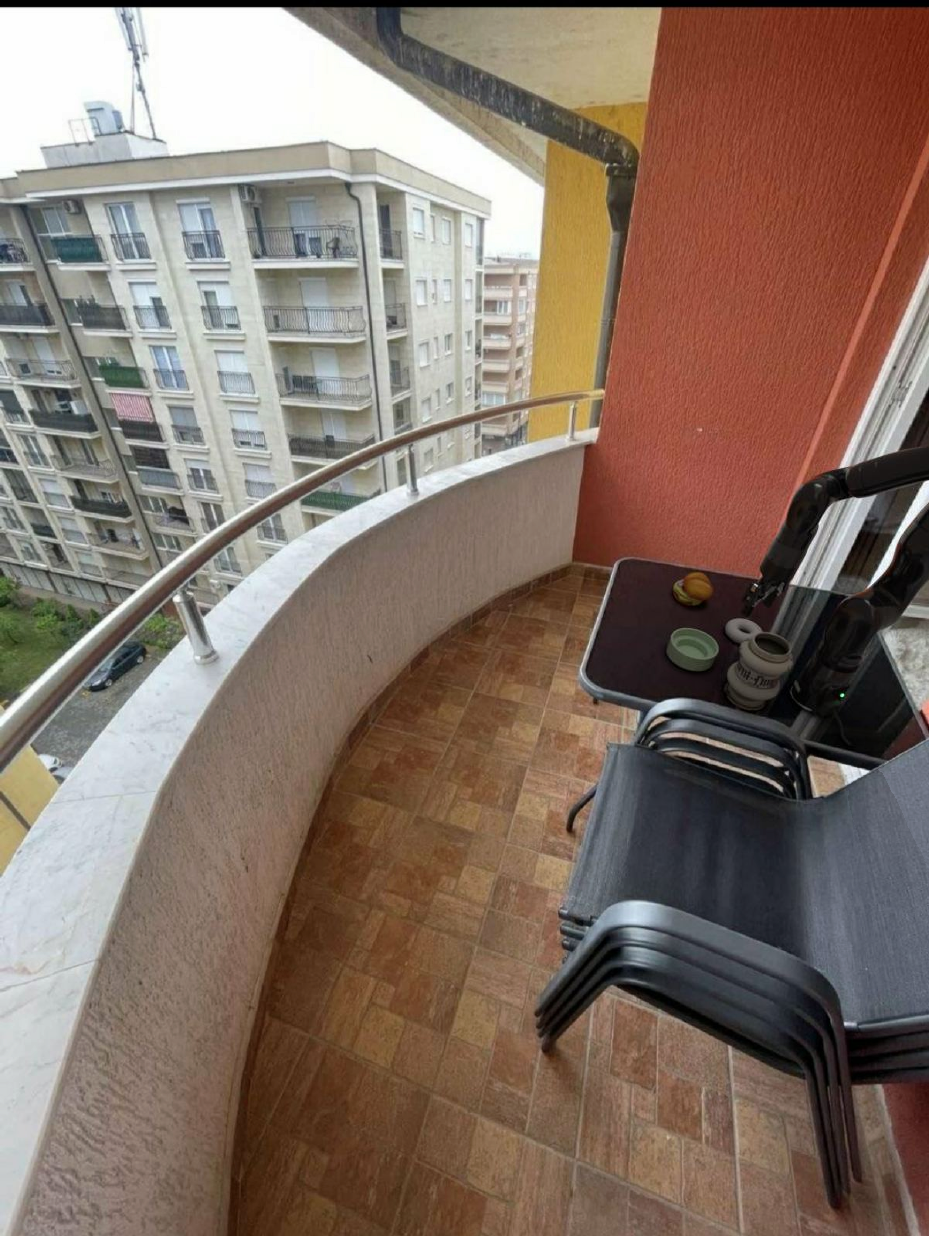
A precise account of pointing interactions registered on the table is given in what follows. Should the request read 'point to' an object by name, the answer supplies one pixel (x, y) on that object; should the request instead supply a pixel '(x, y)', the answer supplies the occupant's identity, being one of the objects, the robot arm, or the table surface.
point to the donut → (741, 624)
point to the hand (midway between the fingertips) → (755, 610)
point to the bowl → (692, 649)
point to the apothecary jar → (758, 670)
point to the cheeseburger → (693, 589)
